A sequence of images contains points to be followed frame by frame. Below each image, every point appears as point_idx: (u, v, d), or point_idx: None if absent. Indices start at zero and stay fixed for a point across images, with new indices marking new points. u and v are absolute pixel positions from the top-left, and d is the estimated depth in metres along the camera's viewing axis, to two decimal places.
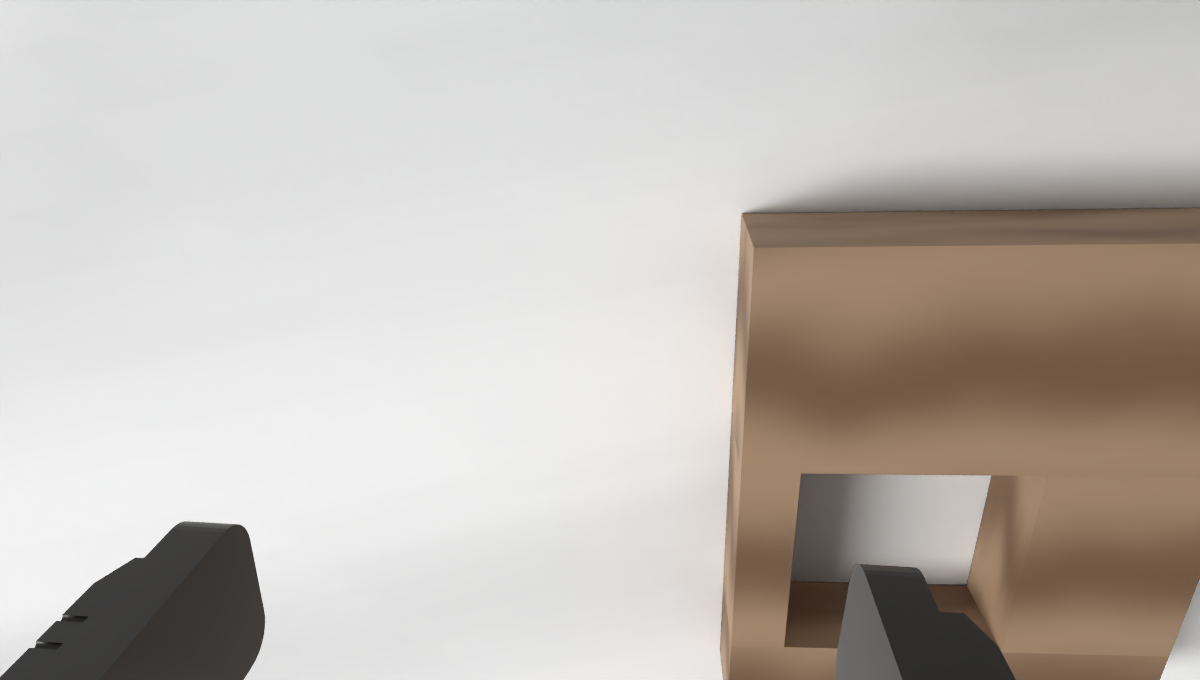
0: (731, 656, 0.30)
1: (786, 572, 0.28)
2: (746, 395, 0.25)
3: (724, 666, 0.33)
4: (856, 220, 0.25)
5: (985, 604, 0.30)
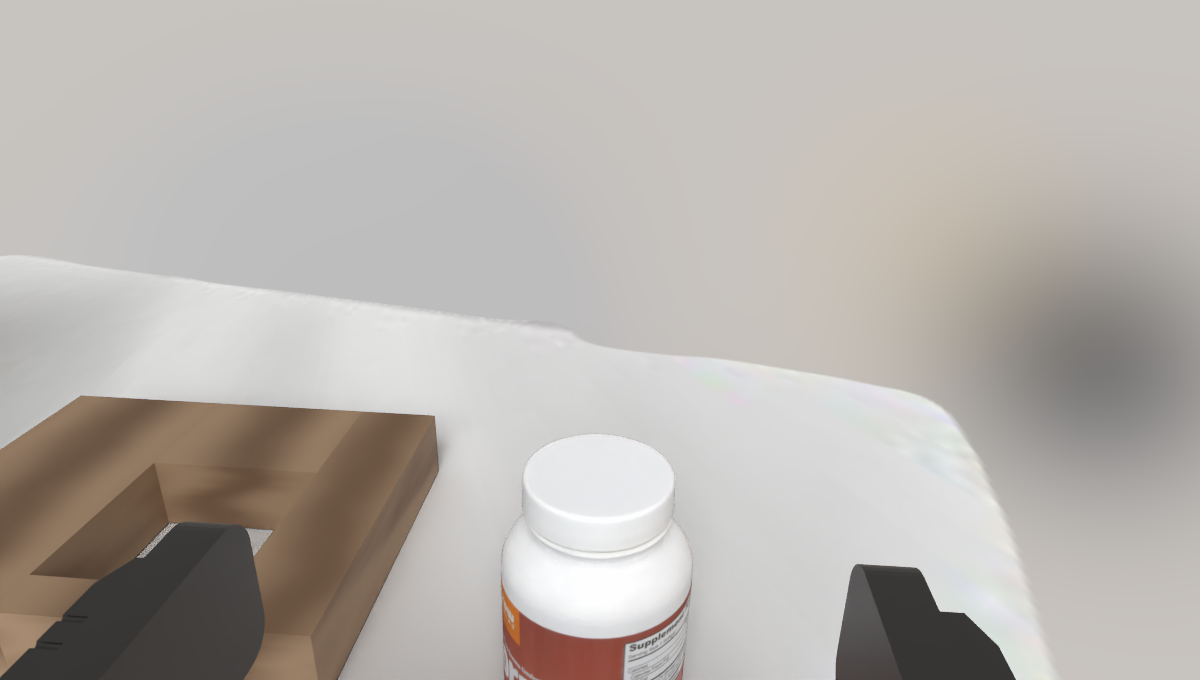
0: None
1: None
2: None
3: (287, 668, 0.28)
4: None
5: None
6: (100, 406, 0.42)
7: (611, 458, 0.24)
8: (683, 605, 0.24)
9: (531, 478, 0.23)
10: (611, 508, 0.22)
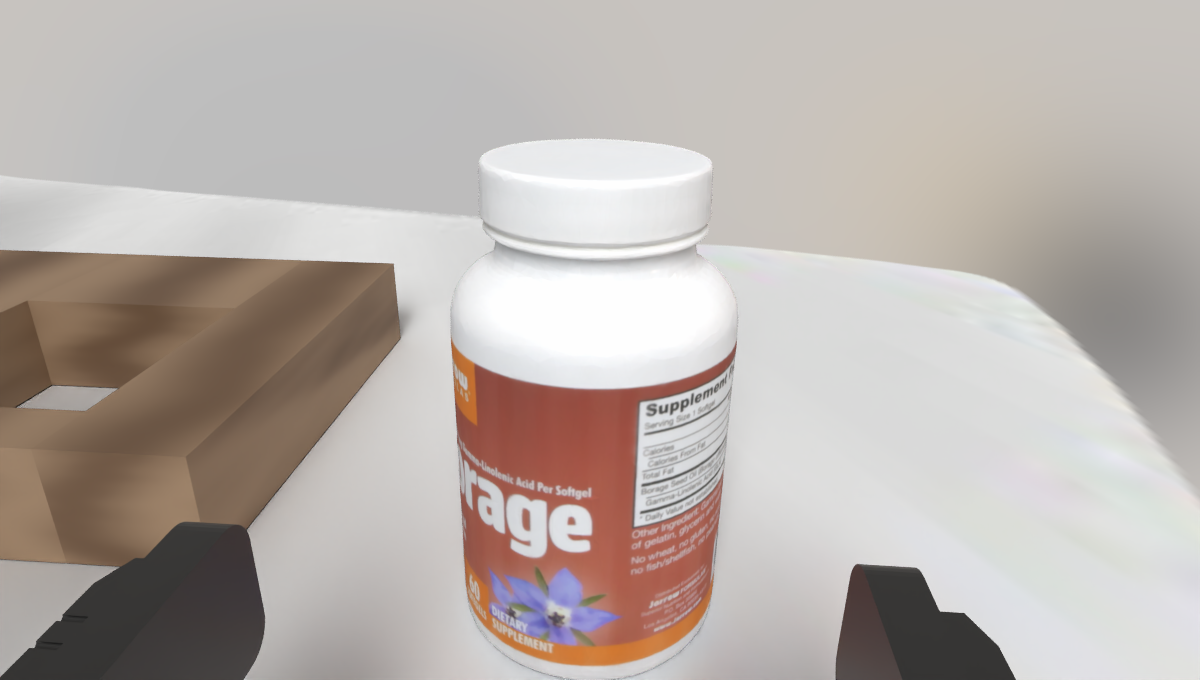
0: (53, 449, 0.19)
1: None
2: None
3: (157, 510, 0.20)
4: None
5: None
6: None
7: (615, 150, 0.16)
8: (727, 362, 0.16)
9: (491, 158, 0.15)
10: (616, 175, 0.14)
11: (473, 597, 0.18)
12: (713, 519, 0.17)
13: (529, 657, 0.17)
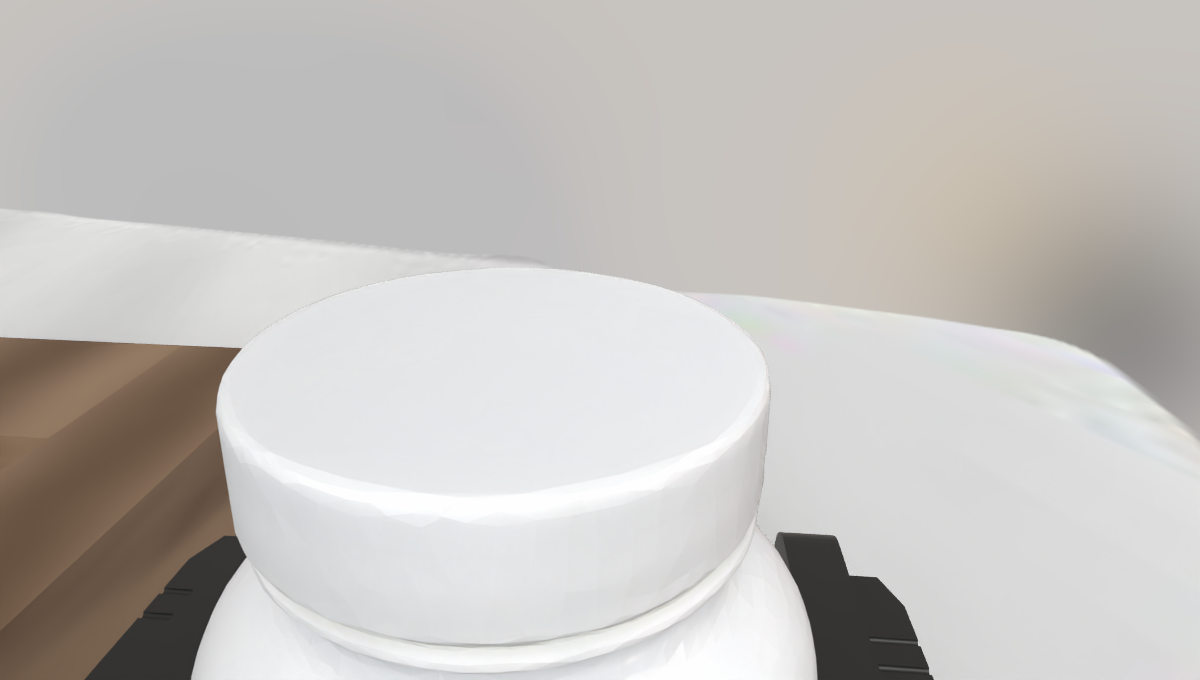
0: None
1: None
2: None
3: None
4: None
5: None
6: None
7: (554, 315, 0.08)
8: None
9: (255, 362, 0.06)
10: (529, 457, 0.05)
11: None
12: None
13: None
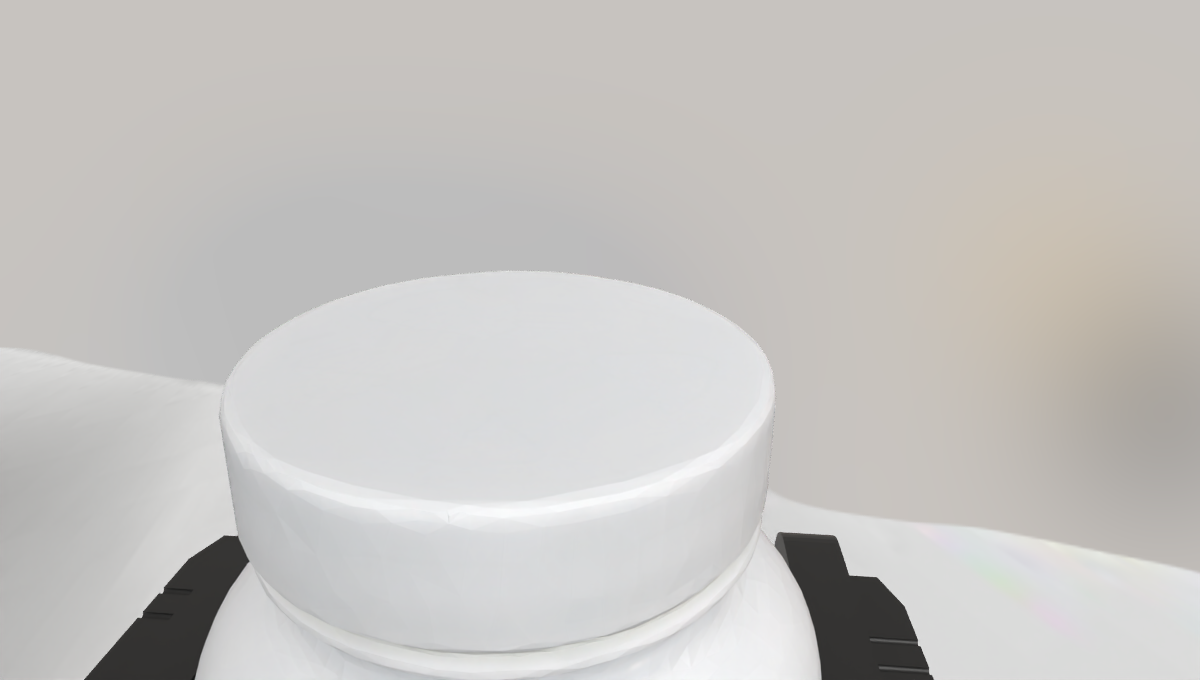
0: None
1: None
2: None
3: None
4: None
5: None
6: None
7: (558, 320, 0.08)
8: None
9: (258, 367, 0.06)
10: (534, 464, 0.05)
11: None
12: None
13: None
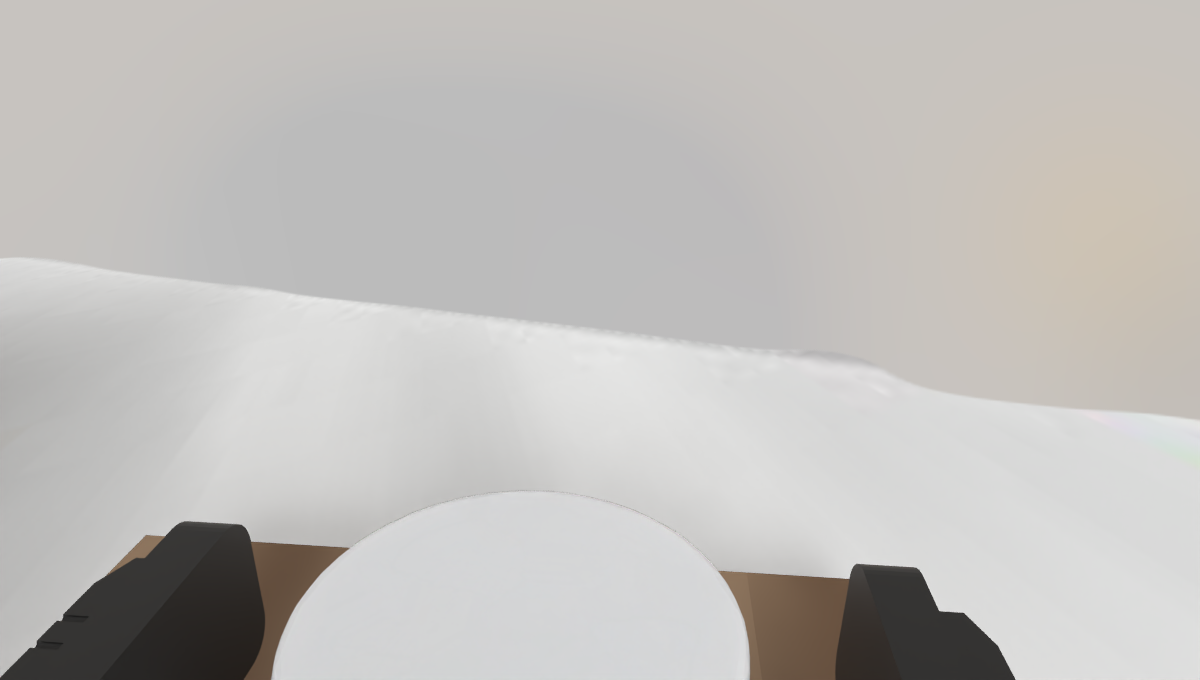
0: None
1: None
2: None
3: None
4: None
5: None
6: None
7: (560, 569, 0.09)
8: None
9: (300, 647, 0.07)
10: None
11: None
12: None
13: None
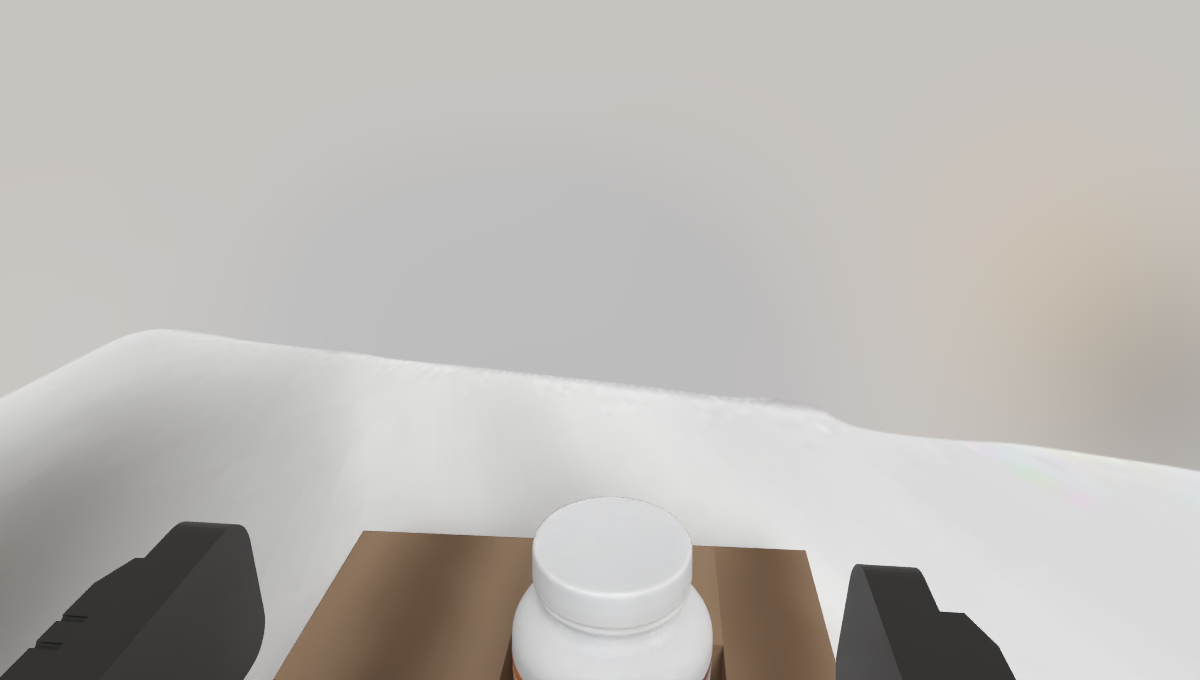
0: None
1: None
2: None
3: None
4: None
5: None
6: (395, 546, 0.35)
7: (625, 524, 0.23)
8: (704, 679, 0.23)
9: (542, 548, 0.22)
10: (627, 581, 0.21)
11: None
12: None
13: None
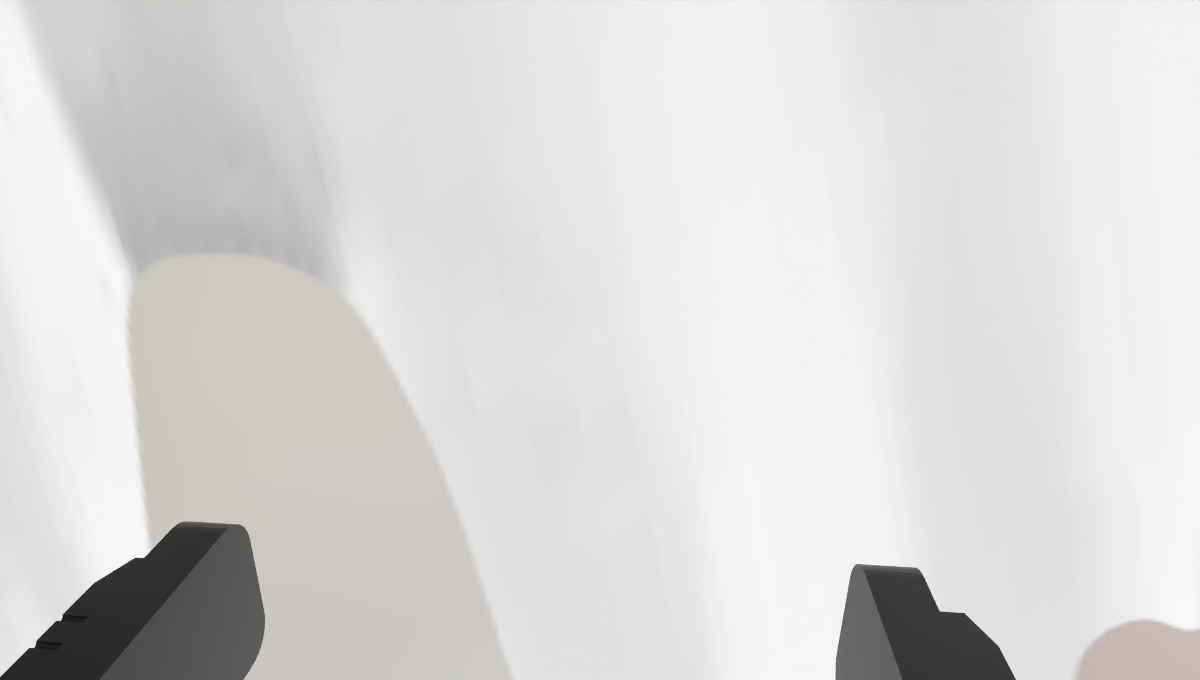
0: None
1: None
2: None
3: None
4: None
5: None
6: None
7: None
8: None
9: None
10: None
11: None
12: None
13: None
